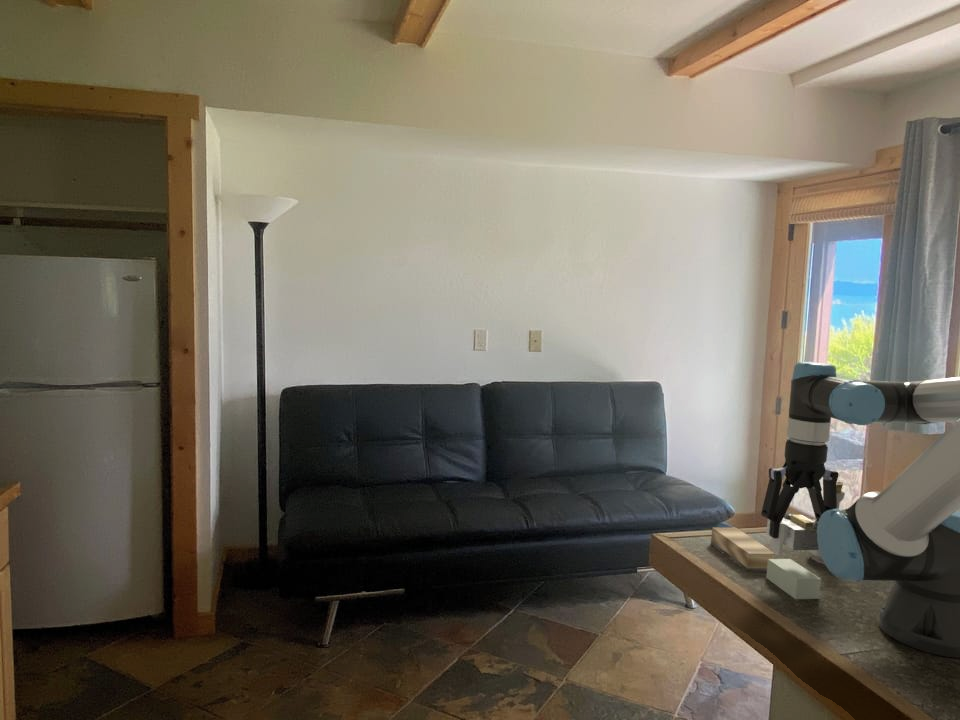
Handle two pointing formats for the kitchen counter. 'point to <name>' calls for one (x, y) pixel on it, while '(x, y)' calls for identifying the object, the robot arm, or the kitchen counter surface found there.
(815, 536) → the lever cap
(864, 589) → the kitchen counter surface
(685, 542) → the kitchen counter surface
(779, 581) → the block
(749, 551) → the plane body
